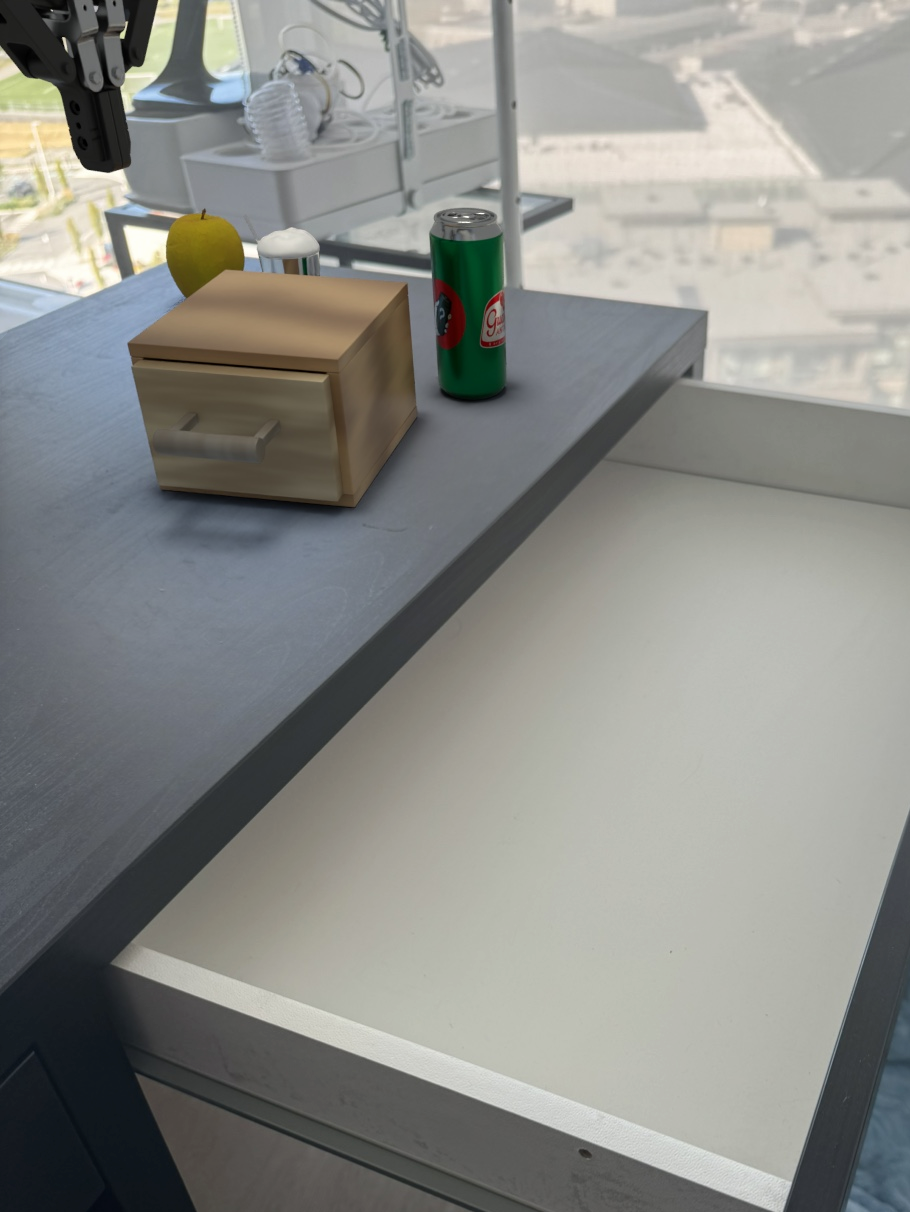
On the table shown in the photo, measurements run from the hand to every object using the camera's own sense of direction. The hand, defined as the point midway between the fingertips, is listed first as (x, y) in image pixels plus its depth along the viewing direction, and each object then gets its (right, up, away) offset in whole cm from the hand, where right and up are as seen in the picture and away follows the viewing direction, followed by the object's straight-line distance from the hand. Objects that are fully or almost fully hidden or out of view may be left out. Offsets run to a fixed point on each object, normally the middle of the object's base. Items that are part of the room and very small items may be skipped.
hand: (106, 168), depth 62 cm
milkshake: (+3, +1, +30) cm, 30 cm away
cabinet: (+6, -10, +16) cm, 20 cm away
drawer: (+6, -12, +12) cm, 18 cm away
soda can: (+17, -3, +25) cm, 30 cm away
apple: (-7, +8, +38) cm, 40 cm away
